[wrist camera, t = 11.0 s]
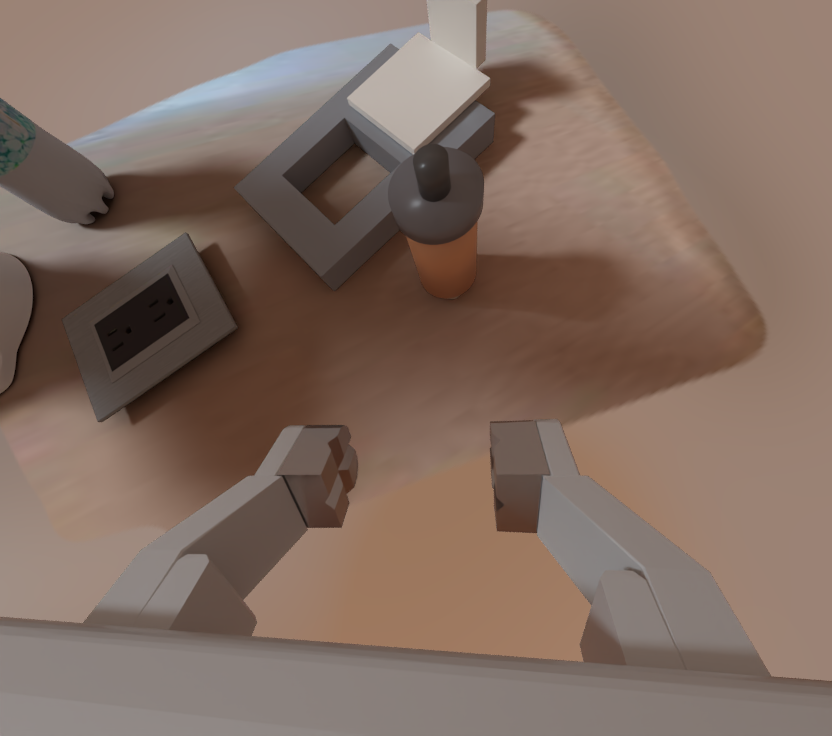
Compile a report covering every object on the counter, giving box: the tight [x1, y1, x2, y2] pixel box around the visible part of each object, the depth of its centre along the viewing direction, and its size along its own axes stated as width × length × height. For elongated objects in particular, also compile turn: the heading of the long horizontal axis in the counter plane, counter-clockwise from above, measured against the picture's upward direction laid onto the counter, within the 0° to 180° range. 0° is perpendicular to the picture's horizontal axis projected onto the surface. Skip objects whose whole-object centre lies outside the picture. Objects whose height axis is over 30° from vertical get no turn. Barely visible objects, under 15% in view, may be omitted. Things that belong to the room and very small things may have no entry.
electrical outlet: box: [62, 232, 238, 422], centre depth 29 cm, size 13×10×2 cm
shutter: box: [347, 0, 490, 154], centre depth 25 cm, size 9×8×5 cm
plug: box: [388, 144, 484, 299], centre depth 21 cm, size 5×5×12 cm
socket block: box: [234, 44, 495, 291], centre depth 29 cm, size 18×12×2 cm, turn 133°
